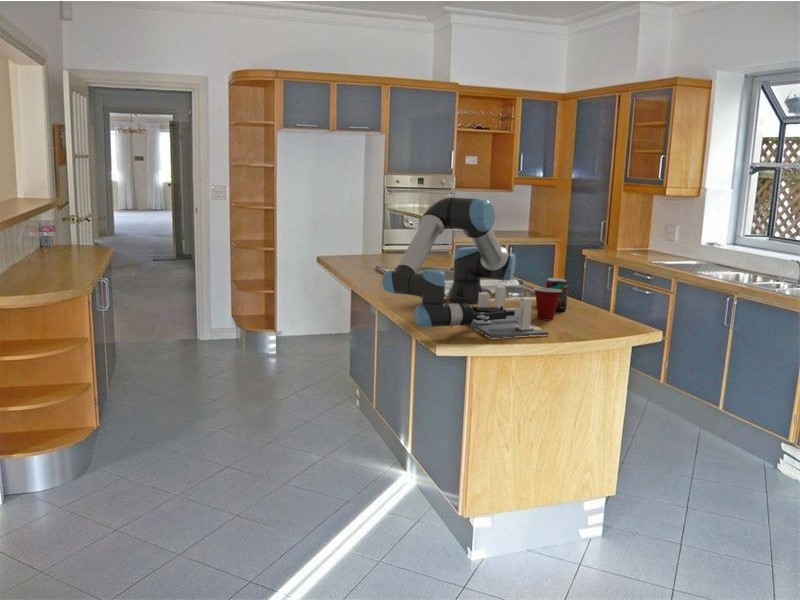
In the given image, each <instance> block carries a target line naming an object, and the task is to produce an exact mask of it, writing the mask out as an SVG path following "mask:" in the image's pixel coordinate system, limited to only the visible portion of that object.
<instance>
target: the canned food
mask: <svg viewBox="0 0 800 600" xmlns="http://www.w3.org/2000/svg"><path fill="white" fill-rule="evenodd" d="M553 281H564V282H567V279H564V278H559V277H548V278H547V280H546V287H545V288H550V286H551V284H552V282H553Z"/></svg>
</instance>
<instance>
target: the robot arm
mask: <svg viewBox="0 0 800 600" xmlns="http://www.w3.org/2000/svg"><path fill="white" fill-rule="evenodd" d="M495 218H496V216H495V208H494V205H493V204H492V202H491V201H490V200H487V199H484V198H466V197H464V198H463V197H453V196H452V197H451V196H450V197H446V198H445V197H444V198H442V199H440V200H437V202H435V203H433V204H432V205H431V206H430V207H429V208H428V209H427V210H425V212H424V213H423V215H422V216H421V219H420V221H419V227H418V229H417V230H416V232H415V234H414V236H413V237H412V240H411V241H410V242H409V245H408V247H407V249H406V250H405V252H404V254H403V256H402V257H401V259H400V261H399V262H398V264H397V266H396V268H395V269H394V270H388V271H386V272H384V274H383V277H382V281H381V282H382V284H381V285H382V288H383V290H384V291H385V292H386V293H392V294H395V295H396V294H399V295H407V296H413V297H414V296H415V297H421V304H418V305H416V306H415V308H414V313H413V314H414V317H413V318H414V322H415V324H416V326H418V327H421V328H427V327H428V328H435V327H437V328H438V327H449V328H453V326H455V327H456V326H459V325H460V326H468V325H470V324H471V323H472V321H473V320H474V319H476V320H477V321H480V320H484V321H490V320H498V319H506V317H516V316H517V317H519V316H522V308H520V307H511V308H510V307H509V308H506V307H505V309H504V310H503V306H501V308H499V307H491V306H489V307H478V306H472V305H471V304H478V296H479V293H480V292H483V289H482V285H481V279H490V280H498V281H499V280H500V281H502V282H503V281H510V280H512V279H513V276H514V273H515V270H516V263H517V257H516V254H515V253H512V252H508V251H507V249H506V248H505V247H503V246H502V245H500V243H499V241H498V238H497V237H496V234H495V232H494V230H493V226H494V224H495ZM447 229H452V230H453V229H454V230H462V231H463V233H464V234H465V235H466V236H467V237H469V238H470V239H471V240H472V242H473V243H474V245H475V246H466V247H465V246H464V247H459V248H457V249H456V250H455V251H454V258H453V282H452V284H451V287H450V290H449V293H448V300H449V301H450V300H451V301H450V302H453V303H447V304H446V303H445V293H446V273H445V271H443V270H441V269H435V268H428V269H425V270H423V272H422V273H419V272H420V270H421V268H422V266H423V264H424V263H425V260H426V258H427V257H428V255H429V253H430V251H431V250H432V247H433V245H434V243H436V240H437V238H438V236H441V235H442V233H444V231H445V230H447Z"/></svg>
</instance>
